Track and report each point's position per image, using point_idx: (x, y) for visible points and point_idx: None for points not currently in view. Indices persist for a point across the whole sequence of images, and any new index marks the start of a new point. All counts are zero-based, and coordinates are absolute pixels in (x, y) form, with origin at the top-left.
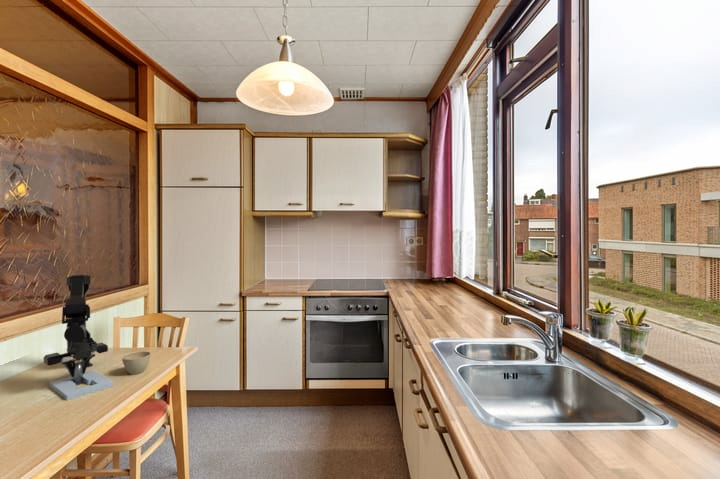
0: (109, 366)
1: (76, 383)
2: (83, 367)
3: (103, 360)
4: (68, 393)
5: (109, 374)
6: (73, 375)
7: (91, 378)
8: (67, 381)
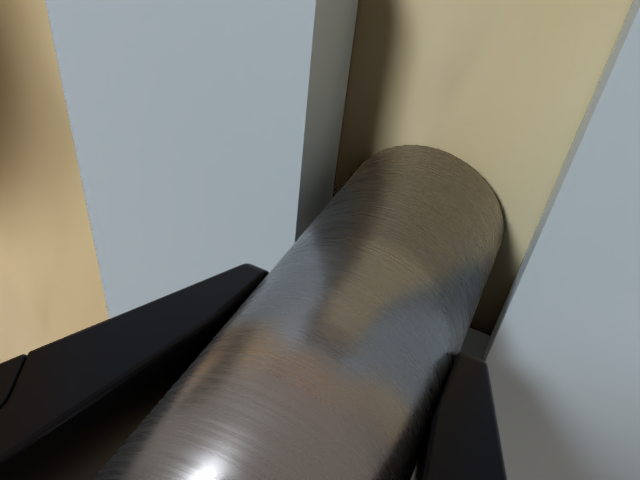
0: (9, 308)
1: (476, 194)
2: (146, 384)
3: None
4: None
5: (13, 74)
6: (452, 374)
7: (226, 19)
8: (553, 374)
